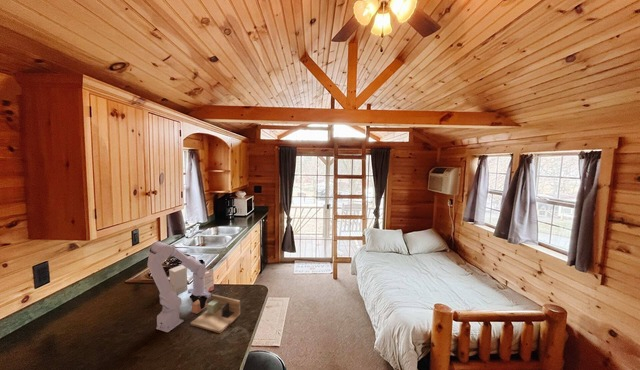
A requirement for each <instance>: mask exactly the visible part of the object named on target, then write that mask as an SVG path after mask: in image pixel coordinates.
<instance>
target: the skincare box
mask: <svg viewBox="0 0 640 370" xmlns="http://www.w3.org/2000/svg"><path fill="white" fill-rule="evenodd" d="M187 270H188V268H186V267H185V266H183V265H182V264H181V265H178V266H175V267H173V268H170V269H168V272H169V275H168V276H169V283H170V285H171V287H172V289H173V291H174V292H175V293H176V294H177V295H179V294H182V293H183V292H185V291H188V290H189V289H188V271H187Z"/></svg>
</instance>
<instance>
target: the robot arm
mask: <svg viewBox="0 0 640 370" xmlns="http://www.w3.org/2000/svg"><path fill="white" fill-rule="evenodd" d="M147 252H148V257H147V258H148V259H147V265H146V266H147V268H148V270H149V272H150V274H151V276H152V278H153V281H154V284H155V285H156V288H157V289H158V291H159V295H158V296H159V304H160V305H161V306H162V310H161V311H160V313H158V314H157V316H156V329H155V330H159V331H162V332H165V333H169V332H171V330H173V329H175V328H177V326H180V324H182V323H183V322H184V319H180V307H181V305H182V302H183V301H182V298H181V297H179V296H178V294H176V293H175V292H174V291H173V289H172V287H171V285H170V279H169V278H168V276H167V273H166V270H165V269H164V267H163V264H164V262H165V261H167V259H168V258H169V257H171V258H172V257H174V258H176V259H177V260H179V261H181V265H183V266H185V267H186V268H187V270H189V271H190V272H191V273H192V280H193V281H192V284H193V285H192V288H189V289H187V294H190V295H189V298H190V300H191V301H192V302H191V303H193V302H195V301H196V300H198V299H199V301H200V307H201V309H203V308H204V307H205V303H206V300H207V301H208V299H209V298H211V295H212V294H211V292H207V291H206V289H205V283H204V276H205V272H206V270H208V269H207V267H206V265H205V264H203V263H201V261H200V260H197V259H196V257H195V256H194V255H188V256H187V255H186V254H184V253H183V252H182V251H180V250H179V249H178V248H176V247H175V246H172V245H171V244H168V243H165V242H162V241H158V240H157V241H155V242H153V243H152V244H151V245H150V247H149V248H148V249H147ZM203 310H204V309H203Z"/></svg>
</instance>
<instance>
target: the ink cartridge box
mask: <svg viewBox="0 0 640 370" xmlns="http://www.w3.org/2000/svg"><path fill="white" fill-rule="evenodd" d="M214 277H215V276H214V269H213V268H210V269H206V272H205V276H204V283H205V289H206V291H207V292H209V293H211V291H214V290H215V283H214V281H215V279H214Z"/></svg>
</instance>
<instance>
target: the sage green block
mask: <svg viewBox="0 0 640 370" xmlns="http://www.w3.org/2000/svg"><path fill="white" fill-rule="evenodd" d="M219 309H220V300H215V299H214V300H211V301H209V302H207V307H206V311H207V313H210V314H214V313H216V312H217V311H218V310H219Z"/></svg>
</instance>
